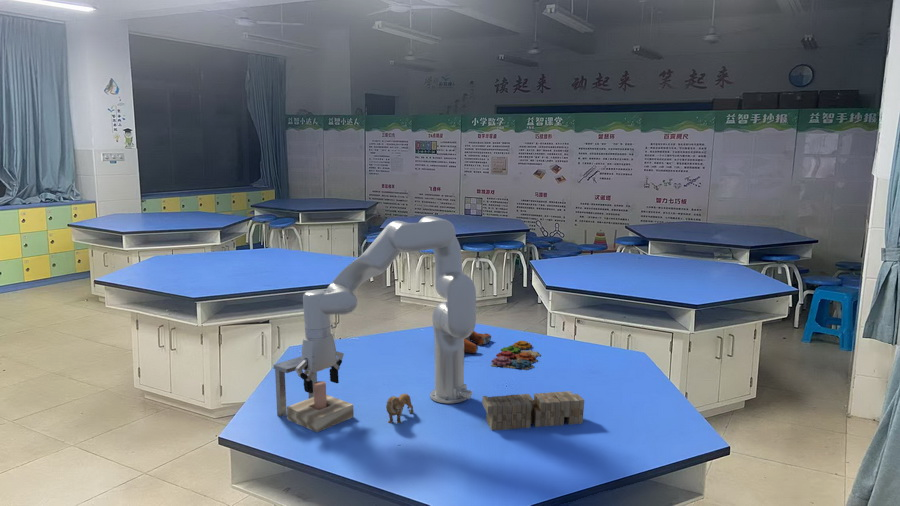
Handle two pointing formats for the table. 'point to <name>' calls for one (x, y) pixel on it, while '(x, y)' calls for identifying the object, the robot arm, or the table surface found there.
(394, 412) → the lion figurine
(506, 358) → the gear puzzle
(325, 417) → the socket block
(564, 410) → the block tower
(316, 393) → the peg
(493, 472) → the table surface
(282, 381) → the grey piece
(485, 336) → the camel toy
